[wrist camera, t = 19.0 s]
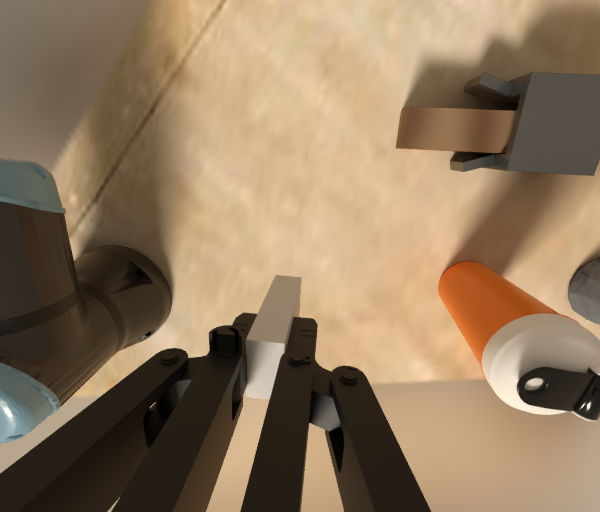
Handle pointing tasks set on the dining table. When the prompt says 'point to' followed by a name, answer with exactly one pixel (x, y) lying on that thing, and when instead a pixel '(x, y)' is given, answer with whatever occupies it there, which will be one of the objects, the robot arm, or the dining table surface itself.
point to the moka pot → (586, 291)
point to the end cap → (544, 123)
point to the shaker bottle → (524, 343)
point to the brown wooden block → (455, 129)
